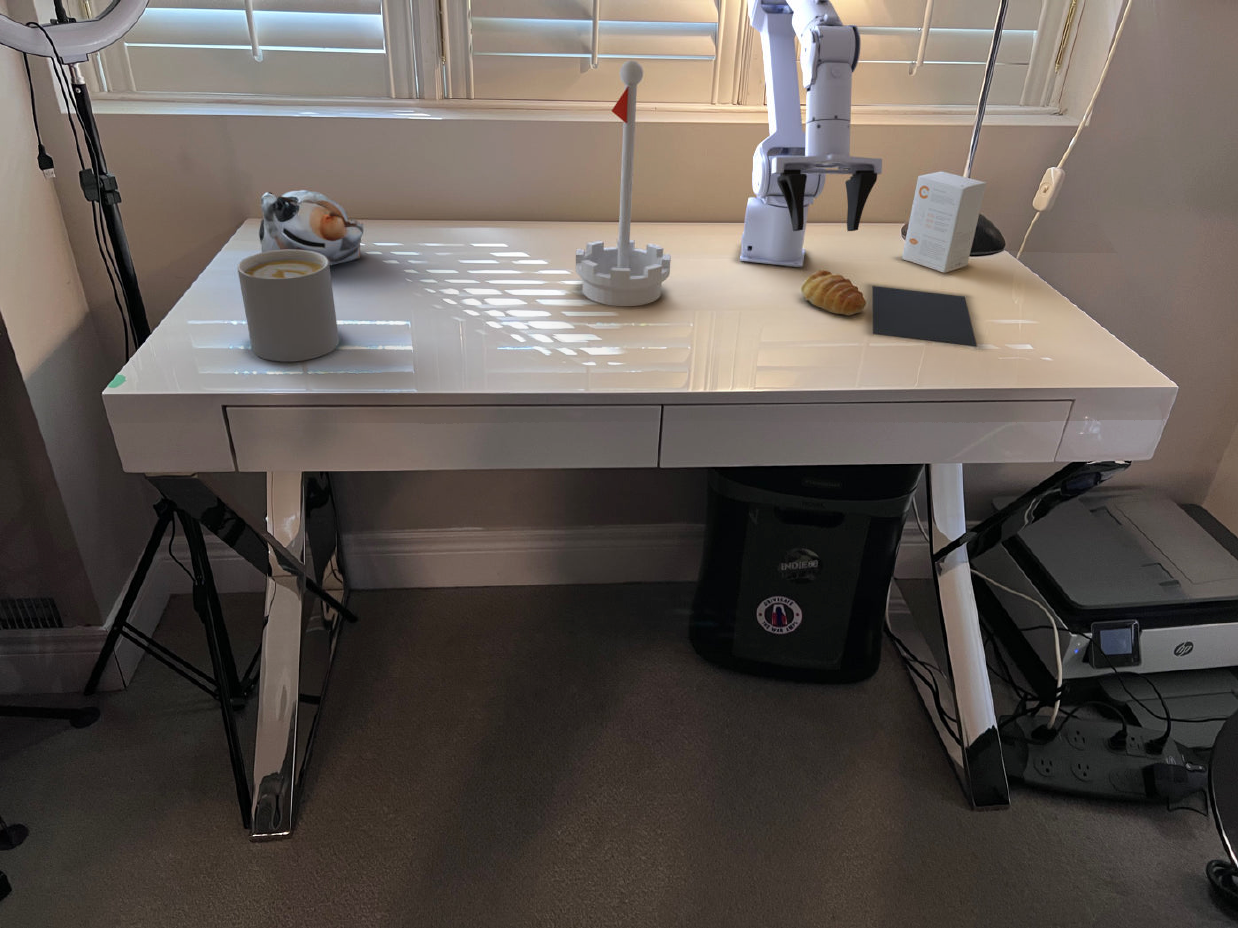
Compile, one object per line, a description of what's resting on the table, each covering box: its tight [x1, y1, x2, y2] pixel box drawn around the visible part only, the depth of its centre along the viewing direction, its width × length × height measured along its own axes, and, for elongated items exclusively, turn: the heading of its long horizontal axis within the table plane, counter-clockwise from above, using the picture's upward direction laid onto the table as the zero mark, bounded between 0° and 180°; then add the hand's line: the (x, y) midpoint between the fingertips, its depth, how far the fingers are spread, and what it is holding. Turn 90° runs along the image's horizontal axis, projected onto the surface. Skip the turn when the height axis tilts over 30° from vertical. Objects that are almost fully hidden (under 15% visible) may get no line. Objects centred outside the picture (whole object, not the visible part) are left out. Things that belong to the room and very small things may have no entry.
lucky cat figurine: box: [258, 189, 364, 266], centre depth 131 cm, size 15×12×14 cm
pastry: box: [800, 269, 867, 316], centre depth 129 cm, size 9×7×4 cm
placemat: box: [872, 285, 978, 347], centre depth 128 cm, size 13×18×1 cm
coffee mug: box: [237, 249, 340, 363], centre depth 111 cm, size 13×10×10 cm
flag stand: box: [575, 60, 672, 307], centre depth 123 cm, size 13×13×30 cm
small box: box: [901, 170, 987, 274], centre depth 143 cm, size 8×6×13 cm
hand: (825, 230), depth 125 cm, fingers open, 7 cm apart
